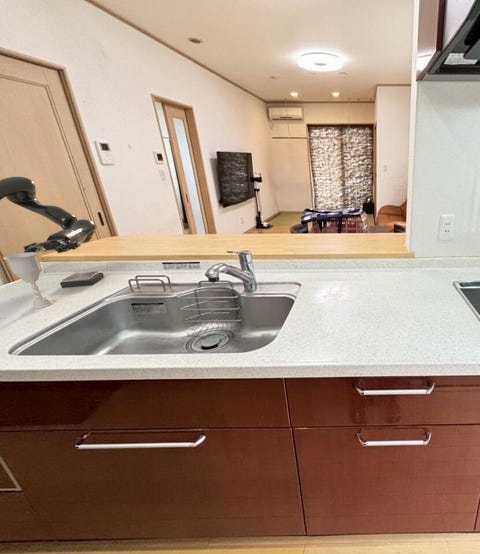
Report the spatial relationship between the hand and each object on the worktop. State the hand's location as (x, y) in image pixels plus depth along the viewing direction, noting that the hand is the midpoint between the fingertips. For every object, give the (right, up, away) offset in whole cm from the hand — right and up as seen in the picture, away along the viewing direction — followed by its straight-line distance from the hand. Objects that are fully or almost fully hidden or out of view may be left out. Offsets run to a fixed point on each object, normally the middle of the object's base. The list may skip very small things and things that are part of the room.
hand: (42, 251), depth 106 cm
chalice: (+4, -19, -3) cm, 20 cm away
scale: (0, -11, +15) cm, 19 cm away
